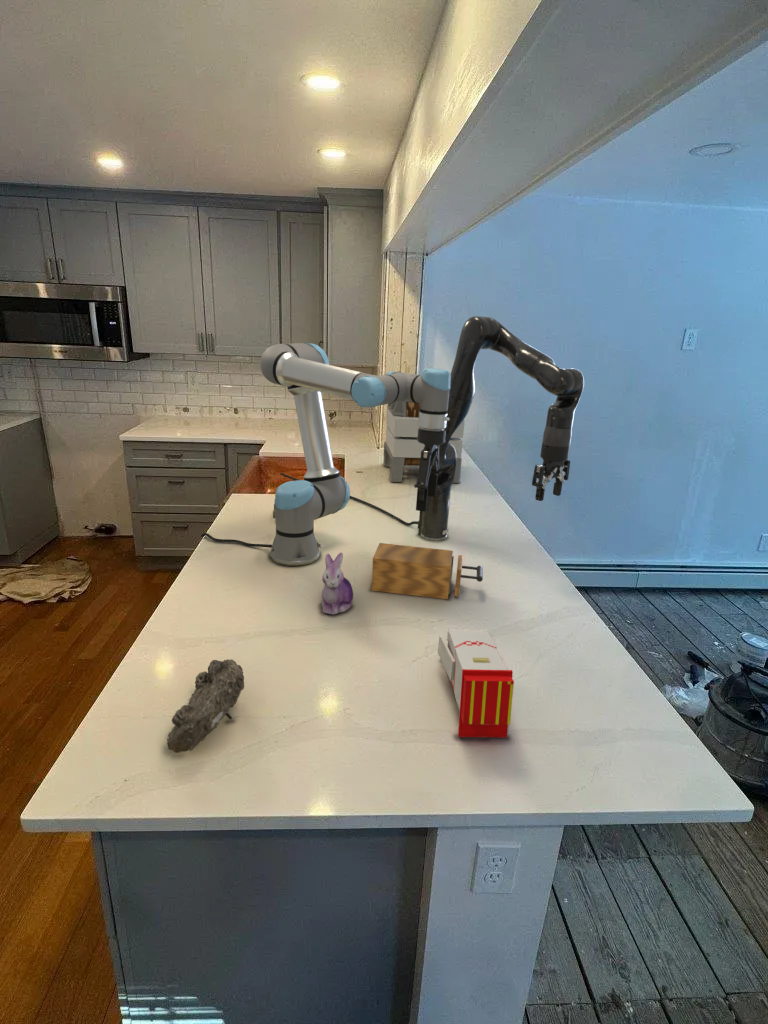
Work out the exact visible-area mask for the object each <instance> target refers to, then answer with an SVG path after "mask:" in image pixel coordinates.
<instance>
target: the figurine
mask: <svg viewBox="0 0 768 1024" xmlns="http://www.w3.org/2000/svg"><path fill="white" fill-rule="evenodd" d="M343 557H344V553H343V552H339V553H337V556H336V557H335V558H334V559H333V558H332V556H331V554H330V553H326V555H325V558H324V560H325V562H324V563H325V568H324V571H323V573H322V577H321V578H322V579H321V580H322V583H323V587H322V590H321V599H322V603H321V607H322V612H323V613H325V614H329V615H337V614H339V613H344V612H347V611H348V610H350V608H351V607H352V606H353V599H354V590H353V585H352V584H351V582H350V580H349V579H348V578H346V577H345V575H344V572H343V570H342V568H341V565H342V562H343Z"/></svg>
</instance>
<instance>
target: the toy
mask: <svg viewBox="0 0 768 1024" xmlns="http://www.w3.org/2000/svg"><path fill="white" fill-rule="evenodd" d="M446 640H447V643H446V641H445V639H444V636H443V635H442V634H439V637H438V646H437V656H438V657H439V659H440V661H441V663H442V666H443V668H444V670H445V672H446V674H447V677H448V679H449V681H450V684H451V687H452V690H453V693H454V697H455V701H456V705H457V708H458V711H459V714H458V715H459V716H458V730H457V731H458V732H457V737H458V738H508V731H509V726H510V725H511V717H512V707H513V697H514V696H513V695H514V684H515V680H514V679H513V673H514V671H513V670H512V669H508V667H507V665H506V662H505V661H504V659H503V658H502V655H501V653H500V651H499V649H498V647H497V643H496V639H495V637H494V635H493V634H491V632H490V631H489V629H467V628H466V629H465V628H463V629H461V628H460V629H459V628H448V630H447V639H446Z"/></svg>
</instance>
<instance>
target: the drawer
mask: <svg viewBox="0 0 768 1024" xmlns="http://www.w3.org/2000/svg"><path fill="white" fill-rule="evenodd" d="M463 557H464V556H463V555H462V554H458V557H457V566H456V575H455V576H456V577H455V586H454V597H458V598H459V597H460V589H461V580H462V579H470V580H476V581H477V582H479V583H480V582H482V581H483V579H484V578H483V577H484V576H483V575H484V574H483V572H484V571H483V570H484V569H483V568H484V567H483V565H477V566H470V565H463ZM454 558H455V556H454V555H453V556H452V563H451V572H450V583H449V594H451V590H452V589H451V588H452V581H453V580H452V579H453V569H454V560H455V559H454ZM463 569H465V570H473V571H476V575H465V574H462V571H463Z"/></svg>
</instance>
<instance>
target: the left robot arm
mask: <svg viewBox="0 0 768 1024" xmlns="http://www.w3.org/2000/svg"><path fill="white" fill-rule="evenodd" d="M259 366H260V371H261V372H262V375H263V376H264V378H265V379H266V380H267V381H268V382H270V383H272V384H274V385H279V386H283V387H286V389H287V392H289V393H290V394H291V395H292V396H293V400H294V404H295V410H296V416H297V422H298V427H299V432H300V433H299V434H300V438H301V444H302V448H303V455H304V462H305V466H306V472H305V473H304V475H303V479H299V480H296V481H295V480H290V481H286V482H284V483H282V484H280V485H279V486H278V487H276V489H275V493H274V503H275V518H276V519H275V536H274V537H273V541H272V544H267V543H251V542H246V541H244V540H243V541H242V540H239V539H231V538H230V539H229V538H216V537H214V536H212V535H211V534H209V533H208V532H203V533H202V534H201V535H200V537H201V538H204V537H205V536H206V537H207V538H209V539H210V540H212V541H214V542H216V543H217V542H218V543H236V544H239V545H244V546H247V547H253V548H254V547H255V548H270V553H269V554H270V559H271V561H273V562H274V563H276V564H278V565H281V566H288V567H300V566H307V565H309V564H312V563H315V562H316V561H317V560H318V559H319V558H320V555H321V553H320V549H321V547H322V546H321V545H322V544H321V543H319V542H317V538H316V535H315V528H314V527H315V521H316V520H318V519H321V518H324V517H327V516H329V515H334V514H336V513H338V512H340V511H341V510H343V509H344V508H345V507H347V505H348V503H349V501H350V499H351V498H350V496H351V490H350V489H351V488H350V486H349V483H348V481H346V479H345V478H344V477H343V476H341V474H340V473H341V472H340V470H339V469H337V468H336V467H335V466H334V460H333V454H332V449H331V443H330V442H331V441H330V437H329V431H328V424H327V418H326V414H325V413H326V411H325V407H324V402H323V395H322V393H324V394H328V395H331V396H335V397H338V398H343V399H346V400H350V401H354V403H355V404H356V405H357V406H359V407H361V408H376V407H381V406H385V405H388V404H391V403H397V402H412V403H417V404H420V411H419V421H418V426H419V427H420V428H419V429H418V438H417V440H418V442H419V443H421V444H424V445H425V447H424V450H422V451H421V459H420V465H419V466H418V472H417V476H416V477H417V478H416V484H415V483H414V488H416V490H417V491H416V500H415V501H416V503H415V511H418V512H420V511H424V512H426V507H427V496H433V497H435V496H436V486H437V475H436V474H440V470H439V445H442V444H444V443H445V437H446V431H445V428H446V424H447V421H449V417H447V413H448V401H449V392H450V374H451V371H449V370H448V369H443V368H433V367H432V368H429V367H428V368H423V370H422V372H421V374H415V373H407V372H402V371H391V370H390V371H387V372H386V373H385V374H381V375H377V374H371V373H367V372H362V371H358V370H353V369H349V368H344V367H340V366H336V365H332V364H330V362H329V358H328V355H327V353H326V352H325V350H324V349H323V348H322V347H320V346H319V345H318V344H316V343H310V342H309V343H308V342H298V343H297V342H293V343H277V344H273V345H271V346H269V347H267V348H266V349H265V350H264V352H263V353H262V354H261V357H260V361H259Z"/></svg>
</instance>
